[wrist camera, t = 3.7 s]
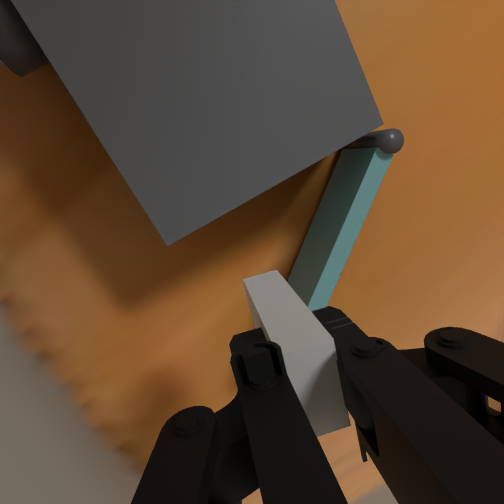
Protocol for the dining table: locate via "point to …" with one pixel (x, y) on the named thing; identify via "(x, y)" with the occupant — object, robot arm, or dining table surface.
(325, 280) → the side door
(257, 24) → the block
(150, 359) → the dining table surface
